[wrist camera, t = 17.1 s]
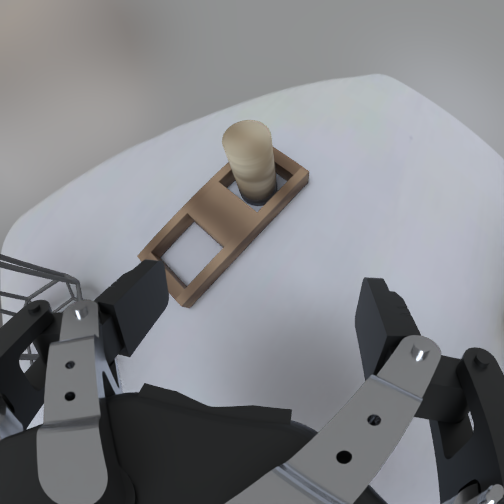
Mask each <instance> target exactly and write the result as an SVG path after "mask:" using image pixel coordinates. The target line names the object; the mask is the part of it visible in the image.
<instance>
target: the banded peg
mask: <svg viewBox="0 0 504 504" xmlns="http://www.w3.org/2000/svg"><path fill="white" fill-rule="evenodd" d="M222 144H223V147H224V150H225V153H226V155H227V158H228V161H229V164H230V166H231V169H232V172H233V174H234V177H235V180H236V183H237V185H238V188H239V191H240V193H241V196H242V198H243V199H244V200H245V201H246V202H247V203H249V204H251V205H255V206H260V205H265V204H266V203H267V202H268V201H269V200H270V199H271V198H272V197H273V196H274V195H275V194H276V193H277V183H276V173H275V164H274V155H273V147H272V138H271V132H270V130H269V128H268V127H267V126H266V125H264V124H263V123H261V122H259V121H255V120H244V121H240V122H237V123H235V124H233V125H232V126H230V127H229V128H228V129H227V130H226V131H225V133H224V135H223V138H222Z"/></svg>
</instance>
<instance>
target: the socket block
mask: <svg viewBox="0 0 504 504" xmlns="http://www.w3.org/2000/svg"><path fill="white" fill-rule="evenodd" d="M272 147H273V146H272ZM273 155H274V164H275V172H276V173H277V174H278V175H280V176H281V177H283V178H284V179H285V180H287V182H286V183H285V184H284V185H283V186H282V188H281V189H280V190H279V191H278V192H277V193H276V194H275V195H274V196H273V197H272V198H271V199H270V200H269V201H268V202H267V203H266V204H265V205H264V206H263V207H262V208H261V209H260V210H259V211H258V212H256V211H255V210H253V209H252V208H251V207H250V206H248V205H247V204H246V203H245V202H243V201H242V200H241V199H240V198H238V197H237V196H236V195H235V194H233V193H232V192H231V191H230V190H228V189H227V187H228V186H229V185H230V184H232V183H233V182H234V181H235V177H234V174H233V172H232V169H231V166H230V164H229V162H228V163H227V164H226V165H225V166H224V167H223V168H222V169H221V170H220V171H218V172H217V173H216V174H215V175H214V176H213V177H212V178H211V179H210V180H209V181H208V182H207V183H206V184H205V185H204V186H203V187H202V188H201V189H200V190H199V191H198V192H197V193H196V194H195V195H194V196H193V197H192V198H191V199H190V200H189V201H188V202H187V203H186V204H185V205H184V206H183V207H182V208H181V209H180V210H179V211H178V212H177V213H176V214H175V215H174V217H173V218H172V219H171V220H170V221H169V222H168V223H167V224H166V225H165V226H164V227H163V228H162V229H161V230H160V231H159V232H158V234H157V235H156V236H155V237H154V238H153V239H152V240H151V241H150V242H149V243H148V245H147V246H146V247H145V248H144V249H143V250H142V251H141V252H140V254H139V255H138V256H137V257H138V258H139V259H140V260H141V261H143V260H145V259H148V260H158V261H162V259H161V258H160V257H161V256H162V255H163V254H164V253H165V252H166V251H167V249H168V248H169V247H170V246H171V245H172V244H173V243H174V242H175V241H176V240H177V239H178V238H179V237H180V236H181V234H182V233H183V232H184V231H185V230H186V229H187V228H188V227H189V226H190V225H191V224H192V223H193V222H194V221H195V222H196V223H197V224H198V225H199V226H200V227H201V228H202V229H203V230H204V231H205V232H207V233H208V234H209V235H210V236H211V237H212V238H213V239H214V240H215V241H216V242H217V243H219V244H220V245H221V246H222V247H223V249H222V250H221V251H220V252H219V253H218V254H217V255H216V256H215V257H214V258H213V259H212V260H211V261H210V263H209V264H208V265H207V266H206V267H205V268H204V269H203V270H202V271H201V272H200V273H199V274H198V275H197V276H196V278H195V279H194V280H193V281H192V282H191V283H190V284H189V285H188V286H186V285H185V284H184V283H183V282H182V281H181V280H180V279H179V278H178V277H177V276H176V275H175V273H174V272H173V271H172V270H171V269H170V268H169V267H168V266H167V265H166V264H165V263H164V262H163V261H162V262H163V263H164V266H165V272H166V279H167V286H168V292H169V293H170V294H171V296H172V297H173V298H174V299H175V300H176V301H177V302H178V303H179V304H180V305H181V306H182V307H186V308H190V307H191V306H192V305H193V304H194V303H195V302H196V301H197V300H198V299H199V298H200V296H201V295H202V294H203V293H204V292H205V291H206V290H207V289H208V288H209V287H210V286H211V285H212V284H213V283H214V281H215V280H216V279H217V278H218V277H219V276H220V275H221V274H222V273H223V272H224V271H225V270H226V269H227V268H228V267H229V265H230V264H231V263H232V262H233V261H234V260H235V259H236V258H237V257H238V256H239V255H240V254H241V253H242V252H243V251H244V250H245V248H246V247H247V246H248V245H249V244H250V243H251V242H252V241H253V240H254V239H255V238H256V237H257V236H258V235H259V234H260V233H261V231H262V230H263V229H264V228H265V227H266V226H267V225H268V224H269V223H270V222H271V221H272V220H273V219H274V218H275V217H276V216H277V215H278V213H279V212H280V211H281V210H282V209H283V208H284V207H285V206H286V205H287V204H288V203H289V202H290V201H291V200H292V199H293V198H294V197H295V196H296V195H297V193H298V192H299V191H300V190H301V189H302V188H303V187H304V186H305V185H306V184H307V183H308V179H309V171H308V170H306V169H305V168H304V167H302V166H301V165H299V164H298V163H296V162H295V161H293V160H292V159H291V158H289V157H288V156H286V155H285V154H283V153H282V152H280V151H279V150H277V149H276V148H274V147H273Z"/></svg>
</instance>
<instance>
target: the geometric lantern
mask: <svg viewBox="0 0 504 504" xmlns="http://www.w3.org/2000/svg"><path fill="white" fill-rule="evenodd" d="M0 260H3V261H6V262H10V263H13V264H16V265H19V266H23V267H26V268H23V267H19V266H16V265H12V264H8V263H4V262H1V261H0V267H1V268H5V269H9V270H13V271H17V272H21V273H25V274H29V275H34V276H38V277H42V278H47V279H51V280H53V281H51V282H50V283H48V284H47V285H45V286H44V287H42V288H41V289H39V290H38V291H36V292H35V293H33V294H32V295H30V296H29V297H24V296H20V295H15V294H11V293H6V292H2V291H0V295H1V296H6V297H10V298H15V299H20V300H25V304H24V307H25V306H26V305H27V304H28V303H31V301H30V300H31V299H32V298H34V297H35V296H37V295H38V294H40V293H42V292H43V291H45V290H46V289H48V288H49V287H51V286H52V285H54V284H56V283H57V282H59V281H61V282H66V284H67V287H68V289H69V292H70V294H71V296H72V298H70V299H69V300H68V301H66V302H65V303H64V304H62V305H61V306H60V307H58V308H57V309H56V310H54V311H53V312H52V313H56V312H57V311H59V310H60V309H61V308H63V307H64V306H65V305H67V304H68V303H70V302H71V301H72V300H75V301H80V300H83V299H82V294H81V288H80V282H79V280H77V279H76V278H74V277H72V276H70V275H68V274H65V273H61V272H57V271H54V270H50V269H47V268H43V267H40V266H36V265H33V264H30V263H27V262H23V261H20V260H17V259H14V258H11V257H8V256H5V255H2V254H0ZM27 268H30V269H27ZM31 269H33V270H31ZM35 270H37V271H35ZM39 271H40V272H39ZM43 272H44V273H43ZM47 273H48V274H47ZM69 283H71V284H76V289H77V298H75V297H74V294H73V292H72V290H71V287H70V285H69ZM0 313H3V314H7V315H11V316H14V315H15V314H17V313H14V312H11V311H7V310H3V309H0ZM62 313H64V311H63V312H62ZM27 351H28V354H21V356H20V358H19V360H30V364H31V365H32V364H33V363H34V362H33V360H36V359H37V358H38V357H39V354H31V349H30V345H29V346H28V347H27Z"/></svg>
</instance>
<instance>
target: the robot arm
mask: <svg viewBox="0 0 504 504" xmlns="http://www.w3.org/2000/svg"><path fill="white" fill-rule="evenodd" d="M168 300H169V293H168V286H167V279H166V272H165V266H164V263H163V262H162V261H158V260H148V259H145V260H143V261H142V262H141V263H140V264H139V265H138V266H137V267H135V268H134V269H133V270H131V271H129V272H127V273H125V274H123V275H122V276H121V277H120V278H119V279H117V282H116V281H115V282H114V283H113V284H112V285H111V287H108V288H107V289H106V290H105V291H104V292H103V293H102V294H101V295H100V296H98V297H97V298H96V299H95V300H94V301H92V300H80V301H77V302H74V303H72V304H71V305H69V306H68V307H67V308H66V309H65V310H64V313H52V310H51V307H50V304H49V302H48V301H45V300H37V301H33V302H31V303H29V304H27V305H26V306H25V307H23V308H22V309H21V310H20V311H19V312H18V313H17V314H15V315H14V316H13V317H12V318H11V319H10V320H9V321H8V322H7V323H6V324H4V325H3V326H2V327H1V328H0V504H387V503H386V502H385V501H384V500H383V499H382V498H381V497H380V496H379V495H378V494H377V493H376V492H375V490H374V489H373V488H372V487H371V486H370V485H369V483H370V482H371V481H372V479H373V478H374V477H375V475H376V474H377V473H378V471H379V470H380V469H381V467H382V466H383V465H384V463H385V462H386V460H387V459H388V457H389V456H390V454H391V453H392V451H393V450H394V448H395V447H396V445H397V444H398V442H399V441H400V439H401V437H402V436H403V434H404V432H405V431H406V429H407V427H408V426H409V424H410V422H411V420H412V419H413V417H419V418H424V419H429V422H430V427H431V433H432V438H433V444H434V450H435V457H436V464H437V472H438V481H439V492H440V504H504V375H503V373H502V371H501V369H500V367H499V365H498V363H497V361H496V359H495V358H494V356H493V355H492V354H491V353H489V352H488V351H486V350H484V349H481V348H475V347H474V348H469V349H468V350H466V351H465V353H464V355H463V357H462V359H457V358H452V357H447V356H443V355H441V350H440V348H439V347H438V345H437V344H436V343H435V342H434V341H432V340H431V339H429V338H427V337H424V336H421V334H420V332H419V330H418V328H417V326H416V324H415V322H414V320H413V318H412V316H411V314H410V312H409V310H408V309H407V306H406V304H405V302H404V300H403V298H401V297H400V296H399V295H398V294H397V293H396V292H391V291H389V289H388V287H387V285H386V283H385V281H384V279H382V278H366V277H365V278H364V279H363V282H362V287H361V292H360V296H359V301H358V305H357V310H356V315H355V328H356V333H357V338H358V343H359V348H360V354H361V359H362V365H363V370H364V376H365V383H364V384H363V385H362V386H361V387H360V389H359V390H358V391H357V392H356V393H355V394H354V396H353V397H352V398H351V399H350V400H349V401H348V402H347V403H346V405H345V406H344V407H343V408H342V409H341V410H340V411H339V412H338V413H337V414H336V415H335V416H334V418H333V419H332V420H331V421H330V422H329V423H328V424H327V425H326V426H325V427H324V428H323V429H322V430H321V431H320V432H319V433H318V432H316V431H315V430H313V429H311V428H309V427H308V426H306V425H303V424H301V423H298V422H295V421H292V420H291V413H292V409H280V408H270V407H261V406H253V405H252V406H234V407H210V406H207V405H205V404H202V403H200V402H198V401H196V400H193V399H191V398H189V397H187V396H185V395H183V394H181V393H179V392H177V391H172V390H168V389H164V388H160V387H157V386H153V385H149V384H146V383H144V385H143V387H142V388H141V390H140V392H139V393H138V392H135V393H123V391H122V385H121V380H120V375H119V369H118V363H117V360H116V358H115V357H116V356H117V355H118V354H120V355H123V356H127V357H130V356H131V355H132V354H133V352H134V351H135V349H136V348H137V347H138V345H139V344H140V343H141V341H142V340H143V338H144V337H145V336H146V334H147V333H148V332H149V330H150V329H151V328H152V326H153V325H154V323H155V322H156V321H157V319H158V318H159V317H160V315H161V314H162V313H163V311H164V310H165V309H166V307H167V305H168ZM32 342H33V344H34V346H35V348H36V350H37V352H38V354H39V357H38V358H37V359H36V361H35V362H34V363H33V364H32V365H31V366H30V368H29V369H28V370H27V371H26V372H25V373H23V371H22V369H21V368H20V365H19V358H20V356H21V354H22V353H23V352H24V351H25V350H26V349H27V347H28V346H29V345H30V344H31V343H32ZM43 404H44V422H43V424H41V425H38V426H36V427H33V428H30V429H27V427H28V426H29V424H30V423H31V421H32V420H33V418H34V417H35V415H36V414H37V412H38V411H39V409H40V408H41V407H42V405H43ZM469 412H471V415H472V419H473V422H474V431H473V430H472V426H471V423H470V419H469V416H468V413H469ZM26 429H27V430H26Z"/></svg>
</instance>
